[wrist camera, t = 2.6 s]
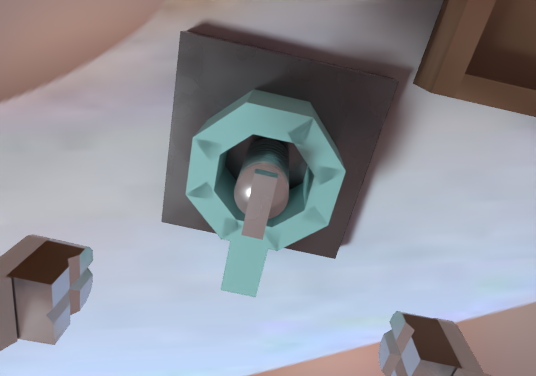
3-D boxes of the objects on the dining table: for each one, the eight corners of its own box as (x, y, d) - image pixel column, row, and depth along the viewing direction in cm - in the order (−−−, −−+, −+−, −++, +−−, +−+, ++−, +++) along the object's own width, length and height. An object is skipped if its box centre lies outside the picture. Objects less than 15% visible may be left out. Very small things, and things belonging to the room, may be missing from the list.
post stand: (186, 30, 17) (140, 35, 12) (392, 78, 17) (435, 103, 12) (167, 213, 21) (127, 275, 16) (333, 248, 22) (346, 320, 16)
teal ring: (213, 79, 17) (198, 91, 14) (349, 110, 17) (360, 127, 14) (189, 246, 21) (174, 280, 18) (299, 269, 21) (300, 306, 18)
